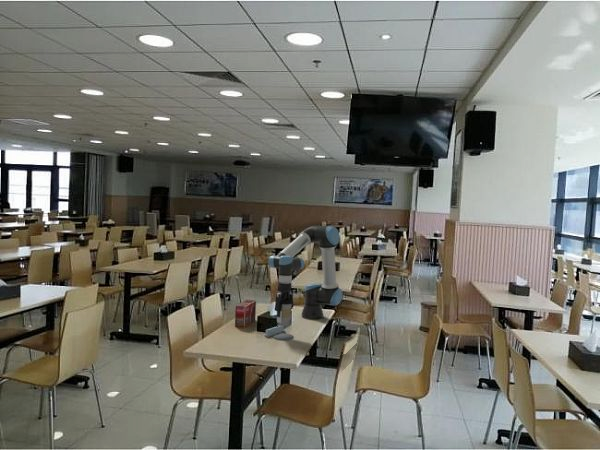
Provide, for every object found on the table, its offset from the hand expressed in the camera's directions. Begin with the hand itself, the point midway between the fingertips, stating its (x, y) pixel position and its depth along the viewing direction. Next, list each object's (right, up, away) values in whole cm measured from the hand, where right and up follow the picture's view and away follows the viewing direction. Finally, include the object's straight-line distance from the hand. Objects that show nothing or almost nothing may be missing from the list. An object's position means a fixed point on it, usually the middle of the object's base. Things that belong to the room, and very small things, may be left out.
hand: (283, 321), depth 274 cm
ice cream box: (-26, -8, +29) cm, 39 cm away
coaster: (0, -10, +1) cm, 10 cm away
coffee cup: (0, -2, 0) cm, 2 cm away
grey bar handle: (-6, -9, +7) cm, 13 cm away
